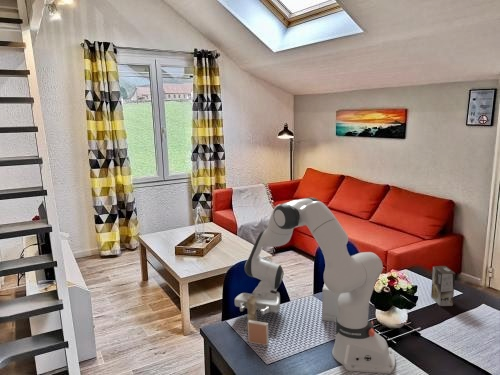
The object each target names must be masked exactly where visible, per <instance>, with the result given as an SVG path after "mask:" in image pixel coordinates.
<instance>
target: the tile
mask: <svg viewBox="0 0 500 375" xmlns="http://www.w3.org/2000/svg"><path fill="white" fill-rule="evenodd" d="M247 324H248V331H247V334H248V336H247V337H248V343H251V344H252V343H253V344H258V345H262V346H263V345H264V346H269V342H270V340H269V323H268V322H264V321H259V320H257V321H253V320H249V321H248V320H247Z"/></svg>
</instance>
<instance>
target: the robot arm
mask: <svg viewBox="0 0 500 375" xmlns="http://www.w3.org/2000/svg"><path fill="white" fill-rule="evenodd" d="M304 226H305V227H307V228H308V230H309V232H310V233H311V235H312V237H313V238H314V240H315V241H316V243H317V245H318V247H319V248H320V250H321V253H322V255H323V258H324V264H325V267H324V271H323V274H322V275H323V282H324V283H325V285H326V287H327V288H328V289H329V290H330V291H331V292H333V293H335V294H341V295H340V296H339V298H338V304H337V318H336V322H335V341H334V344H333V348H332V350H331V353H332V357H333V358H334V359H335V360H336V361H337V362H338V363H339V364H341V365H342V366H343V367H344V368H345V370H347V371H349V372H350V371H351V372H361V373H362V372H363V373H375V374H376V373H377V374H378V373H379V374H391V373H393V371H394V369H395V367H396V358H395V354H394V352H393V350H392V349H390V348H389V345H388V343H387V340H386V339H385V338H384V337H383V336H382V335H380V334H379V333H377V332H376V331H375V329H374V328H375V327H374V322H373V320H371V322H370V320H369V311H370V302H371V297H372V295H373V292H374V288H375V285H376V283H377V280H378V279H379V277H380V276H381V274H382V273H383V270H384V266H383V261H382V259H381V258H380V257H379V255H377V254H376V253H374V252H372V251H366V252H365V251H364V252H358V253H355V254H352V255H350V253H349V251H348V247H347V244H348V242H349V235H348V234H347V232H346V231H345V229H344V228H343V226H342V224H341V223H340V222H339V220H338V218H336V216H335V214H333V212H332V210H330V208H329V207H328V206H327V205H326V204H325V203H324V202H323V201H320V200H319V199H318V198H316V197H305V198H299V199H293V200H290V201H288V202H283V203H279V204H277V205H276V206H274V208H273V210H272V212H271V215H270V219H269V221H268V226H267V228H266V229H263V230H261V231H260V232H259V234H258V236H257V237H256V240H255V243H254V245H253V248H252V249H251V251H250V254H249V256H248V259H246V262H245V264H244V272H245V274H246V275H247V276H248V277H250V278H254V279H258V280H260V281H259V282H258V285H257V286H256V287H255V289H254V290H253V291H252V293H248V292H242V293H240V294H238V295H237V296H236V297H235V298H234V306H235V307H237V308H239V311H240V312H242V313H243V312H244V311H245V309H247V298H248V297H249V296H255V297H256V310H257V311H260V315H262V316H264V315H265V314H267V313H276V314H277V313H278V312H279V311H280V308H281V307H280V305H281V295H280V292H279V291H277V290H278V288H279V287H280V286H281V284H282V282H283V279H284V274H285V273H284V269H283V267H282V266H281V264H278V263H276V262H273V261H270V260H267V259H265V258H262V257H261V256H260V254H261V253H262V250H263V248H265V247H281V246H284V245H286V244H288V243H289V242H290V240H291V239H292V236H293V233H294V232H293V231H294V229H296V228H298V227H304ZM265 316H266V315H265Z"/></svg>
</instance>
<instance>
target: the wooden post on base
mask: <svg viewBox="0 0 500 375" xmlns="http://www.w3.org/2000/svg"><path fill="white" fill-rule="evenodd" d="M246 309H247V322H248V321H249V320H253V321H258V317H257V316H258V314H257V311H258V310H256V297H255V296H249V297H248V298H247V308H246ZM244 331H247V332H248V323H247V324H246V326H245V327H244Z"/></svg>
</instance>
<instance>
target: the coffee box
mask: <svg viewBox="0 0 500 375" xmlns="http://www.w3.org/2000/svg"><path fill="white" fill-rule="evenodd" d="M431 276H432V278H431V292H430V297H431V298H432V300H433V301H434V302H435V303H436V304H437V305H438V306H439V307H452V306H453V305H454V294H455V283H456V273H455V271H453V270H452V269H451V268H449V267H448V266H447V265H438V266H437V265H436V266H435V265H434V266H432V275H431Z"/></svg>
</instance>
